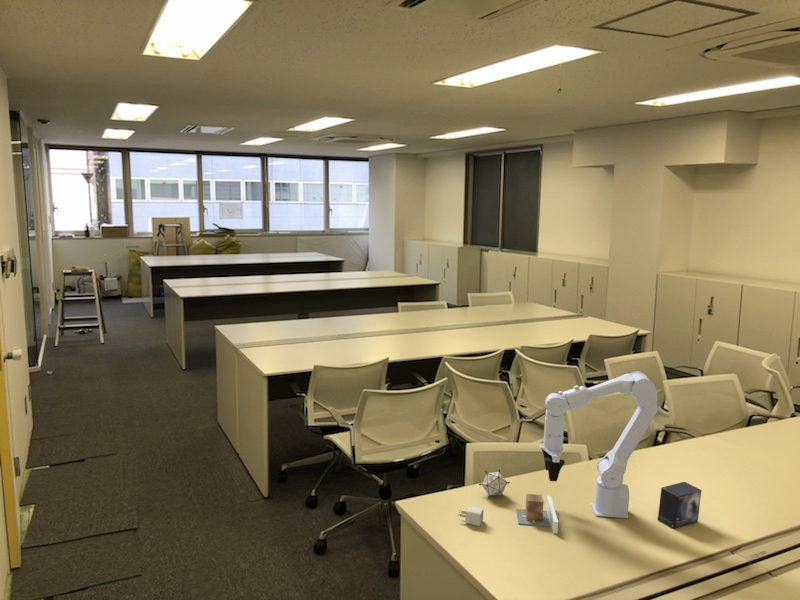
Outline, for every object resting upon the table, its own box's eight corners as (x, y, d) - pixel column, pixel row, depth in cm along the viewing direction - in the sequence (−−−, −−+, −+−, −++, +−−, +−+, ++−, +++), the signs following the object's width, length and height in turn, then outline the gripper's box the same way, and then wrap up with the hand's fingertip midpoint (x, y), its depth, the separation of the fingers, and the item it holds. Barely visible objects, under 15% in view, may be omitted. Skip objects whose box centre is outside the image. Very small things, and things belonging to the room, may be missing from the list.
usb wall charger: (479, 527, 178) (480, 514, 177) (456, 522, 180) (457, 509, 179) (483, 520, 181) (483, 508, 181) (460, 516, 184) (460, 503, 183)
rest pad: (546, 511, 188) (546, 510, 188) (550, 526, 179) (550, 525, 179) (516, 509, 189) (516, 508, 189) (518, 524, 180) (518, 523, 180)
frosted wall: (550, 506, 191) (550, 496, 190) (557, 533, 175) (558, 522, 175) (546, 506, 191) (547, 495, 191) (553, 533, 175) (553, 521, 175)
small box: (675, 530, 179) (678, 496, 177) (656, 520, 184) (659, 487, 183) (699, 522, 184) (702, 489, 182) (680, 513, 189) (683, 480, 188)
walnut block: (540, 513, 186) (541, 494, 185) (542, 521, 181) (543, 501, 180) (525, 512, 186) (526, 493, 185) (526, 520, 182) (527, 500, 181)
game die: (498, 508, 197) (508, 493, 190) (473, 496, 198) (483, 481, 191) (504, 485, 203) (515, 470, 196) (481, 474, 204) (490, 458, 197)
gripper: (537, 424, 196) (535, 465, 198) (543, 441, 182) (541, 484, 184) (560, 425, 195) (557, 466, 197) (568, 442, 181) (565, 486, 183)
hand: (551, 475), depth 190 cm, fingers open, 7 cm apart
